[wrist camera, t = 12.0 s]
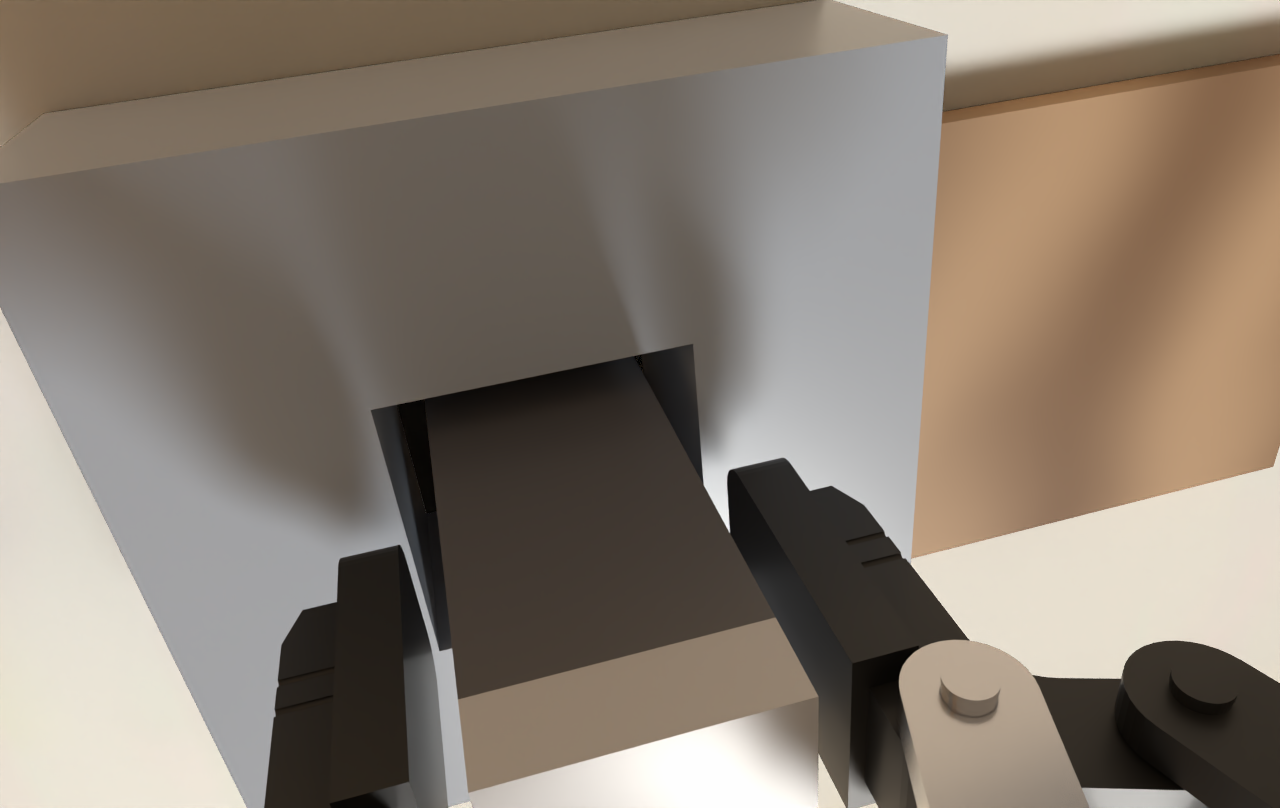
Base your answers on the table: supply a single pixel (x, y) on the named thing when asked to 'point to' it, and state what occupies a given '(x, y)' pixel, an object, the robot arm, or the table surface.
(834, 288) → the socket block
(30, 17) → the table surface
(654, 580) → the plug
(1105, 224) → the pad
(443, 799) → the robot arm
